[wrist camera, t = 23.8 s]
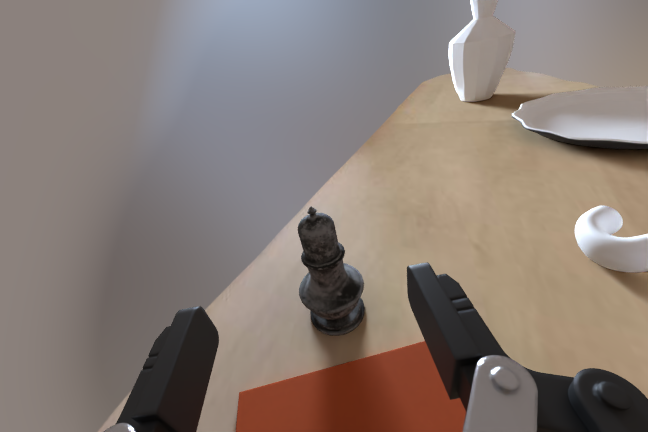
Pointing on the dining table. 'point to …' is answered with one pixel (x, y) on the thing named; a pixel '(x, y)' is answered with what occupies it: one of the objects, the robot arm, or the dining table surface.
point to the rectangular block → (357, 398)
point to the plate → (591, 117)
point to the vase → (480, 53)
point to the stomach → (610, 241)
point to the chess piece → (328, 278)
